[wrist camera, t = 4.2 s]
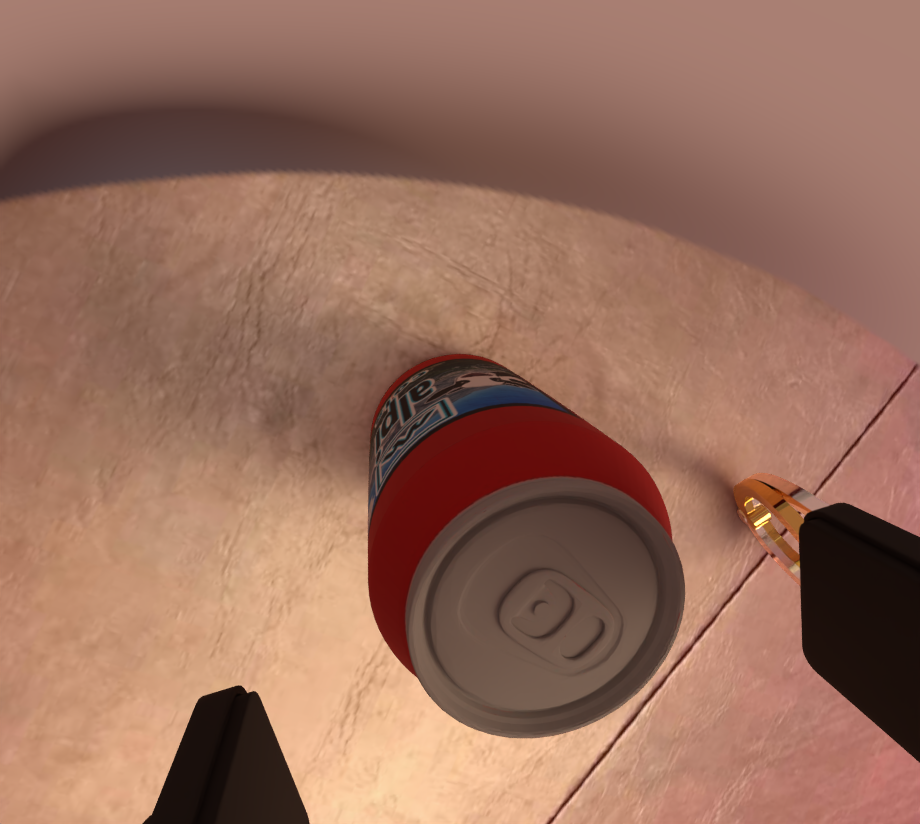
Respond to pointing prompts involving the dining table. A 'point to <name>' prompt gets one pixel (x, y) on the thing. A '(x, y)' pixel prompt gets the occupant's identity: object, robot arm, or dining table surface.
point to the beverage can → (515, 552)
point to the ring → (780, 502)
